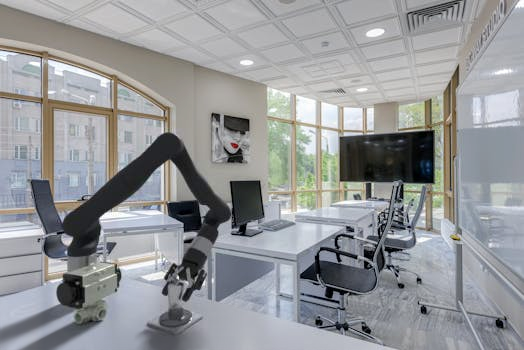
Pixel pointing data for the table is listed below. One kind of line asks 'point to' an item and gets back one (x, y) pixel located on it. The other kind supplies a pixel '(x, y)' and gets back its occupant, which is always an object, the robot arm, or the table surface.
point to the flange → (175, 322)
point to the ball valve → (89, 290)
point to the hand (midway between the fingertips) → (173, 297)
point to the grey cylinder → (175, 300)
